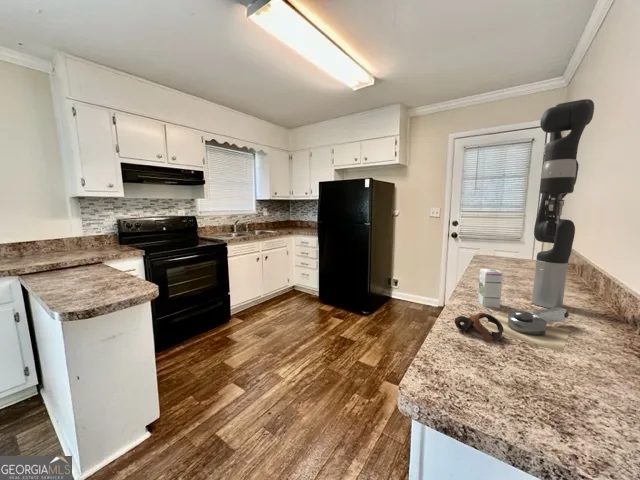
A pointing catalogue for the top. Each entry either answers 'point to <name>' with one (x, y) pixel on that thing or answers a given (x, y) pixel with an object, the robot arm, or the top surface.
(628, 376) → the top surface
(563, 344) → the beige flat square slab
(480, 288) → the syrup box
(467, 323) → the brown curved loop piece
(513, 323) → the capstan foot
